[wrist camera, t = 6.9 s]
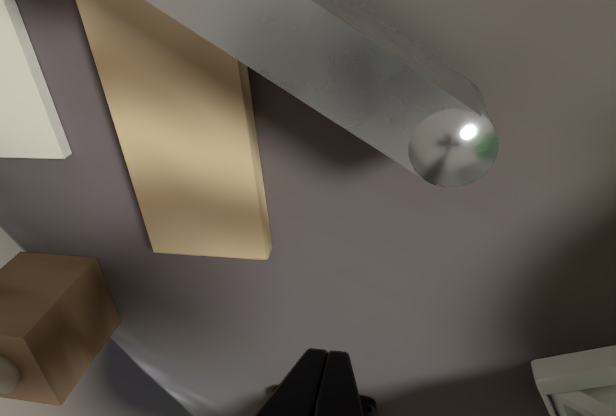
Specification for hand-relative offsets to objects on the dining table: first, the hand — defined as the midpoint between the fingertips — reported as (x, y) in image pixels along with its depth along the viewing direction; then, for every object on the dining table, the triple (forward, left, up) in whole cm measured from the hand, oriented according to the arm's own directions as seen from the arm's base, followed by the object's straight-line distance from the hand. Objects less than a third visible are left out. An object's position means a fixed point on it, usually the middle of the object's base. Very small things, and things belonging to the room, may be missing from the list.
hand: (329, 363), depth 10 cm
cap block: (-10, +18, -12) cm, 24 cm away
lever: (+5, +3, -10) cm, 12 cm away
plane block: (+2, +8, -12) cm, 14 cm away
